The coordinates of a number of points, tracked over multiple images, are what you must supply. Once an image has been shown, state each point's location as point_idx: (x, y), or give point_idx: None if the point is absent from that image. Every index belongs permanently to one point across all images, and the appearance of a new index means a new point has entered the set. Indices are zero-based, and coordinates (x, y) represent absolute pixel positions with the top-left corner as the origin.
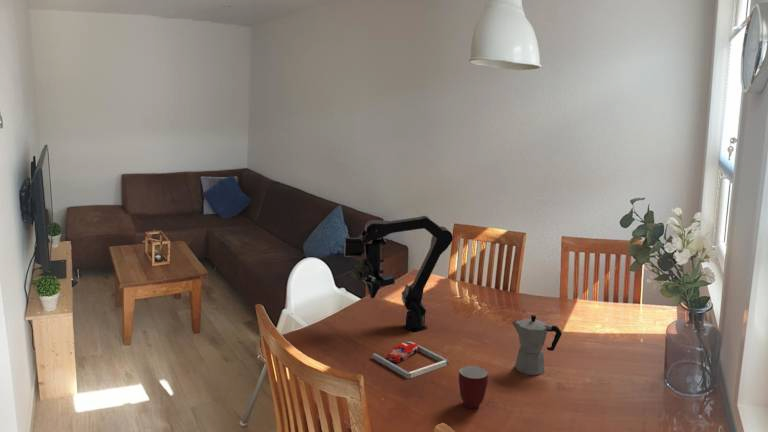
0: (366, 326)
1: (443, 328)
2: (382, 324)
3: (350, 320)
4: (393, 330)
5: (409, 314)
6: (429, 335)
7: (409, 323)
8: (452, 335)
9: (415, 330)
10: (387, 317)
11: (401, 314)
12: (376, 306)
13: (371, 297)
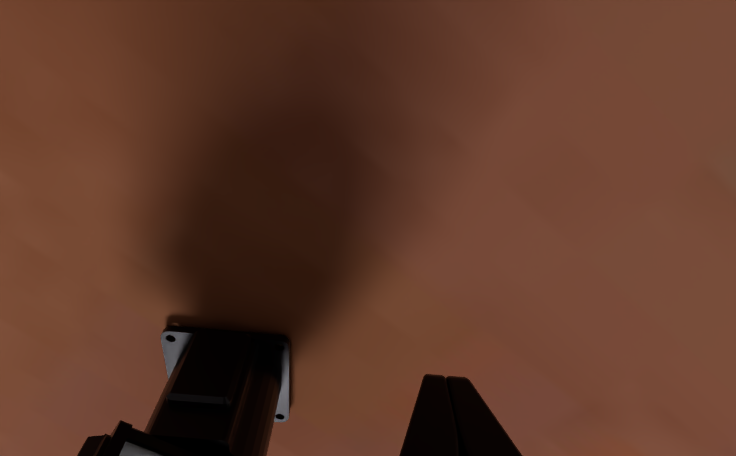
0: (493, 154)
1: None
2: (426, 270)
3: (710, 140)
4: (279, 252)
5: (187, 429)
6: (76, 351)
7: (190, 360)
8: (22, 423)
9: (163, 339)
10: (494, 365)
11: None
12: (684, 428)
13: (439, 381)
